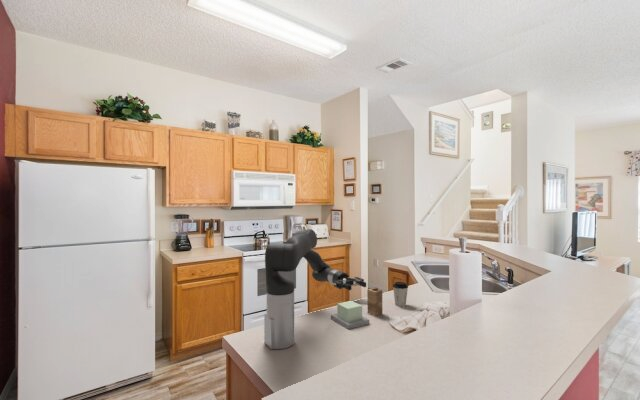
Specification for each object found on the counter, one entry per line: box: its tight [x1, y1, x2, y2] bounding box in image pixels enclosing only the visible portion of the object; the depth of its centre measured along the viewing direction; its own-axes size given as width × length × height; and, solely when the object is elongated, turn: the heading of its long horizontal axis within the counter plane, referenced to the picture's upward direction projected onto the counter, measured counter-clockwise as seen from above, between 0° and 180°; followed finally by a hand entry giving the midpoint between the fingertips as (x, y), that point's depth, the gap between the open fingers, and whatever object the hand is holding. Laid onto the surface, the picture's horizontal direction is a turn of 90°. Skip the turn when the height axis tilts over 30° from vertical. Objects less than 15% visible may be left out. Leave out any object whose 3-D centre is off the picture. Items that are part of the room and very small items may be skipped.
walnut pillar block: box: [367, 286, 383, 317], centre depth 129 cm, size 4×4×11 cm
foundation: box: [330, 300, 370, 330], centre depth 121 cm, size 10×12×6 cm
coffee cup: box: [392, 281, 409, 308], centre depth 139 cm, size 7×7×10 cm
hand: (358, 286), depth 139 cm, fingers open, 8 cm apart
